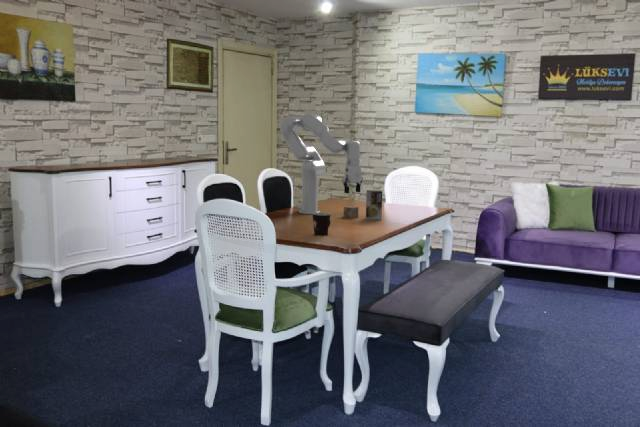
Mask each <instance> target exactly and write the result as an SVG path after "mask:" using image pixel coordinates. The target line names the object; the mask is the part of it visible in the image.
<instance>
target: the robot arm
mask: <svg viewBox="0 0 640 427" xmlns="http://www.w3.org/2000/svg"><path fill="white" fill-rule="evenodd" d="M279 130H280V134H281V136H282V138H283V140H284V141H285V142H286V144H287V145H288V147H289V149H290V151H291V153H292V154H293V156H294V157H295V159H296V160H297V161H299V162H300V161H301V162H303V161H304V162H303V163H302V164H301V166H300V173H301V204H299V205H298V206H297V208H298V209H300V210H298V213H300V214H304V215H313V213H321V210H319V209H318V208H319V207H318V205H319V204H318V201H319V196H318V195H319V179H318V176H320V175H322V174H323V173H324V172H325V169H326V165H325V162H324V160H323V158H322V157H321V156H320V153H318V151H317V149H316V148H315V147H314V146H313V145H311V144H305V142H303V140H302V139H301V137H300V136H299V134H297V132H299V131H300V132H301V131H305V130H308V131H309V132H310V133H312V134H313V135H315V137H317V138H318V140H319V141H320V142H321V144H322V146H323V147H325V148H326V149H327V150H328V151H330V152H331V153H332V154H335V155H337V154H340V155H342V154H345V155H346V156H345V158H346V160H345V164H346V165H345V168H344V176H343V177H342V178H341V182H342V185H343V188H344V189H343V190H344V191H343V192H344V194H350V184H355V193H361V188H362V186H361V185H362V183H363V180H364V177H363V176H362V168H361V165H360V154H361V150H360V149H361V148H360V147H361V146H360V145H361V144H360V142H359V141H356V140H344V139H343V140H341V139H340V140H337V139H336V138H335V137H333V135H331V133H330V132H329V127H328V125H326V124H325V123H324V122H323V121H322V117H321V116H320V115H319V114H317V113H305V114H304V115H301V116H294V115H292V116H291V115H290V116H285V117H284V118H283V119H282V121H281V122H280V127H279ZM296 131H297V132H296Z"/></svg>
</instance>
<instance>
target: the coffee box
mask: <svg viewBox="0 0 640 427" xmlns="http://www.w3.org/2000/svg"><path fill="white" fill-rule="evenodd" d="M365 197H366V198H365V202H366V204H365V220H377V221H378V220H380V221H382V217H383V215H382V214H383V213H382V212H383V211H382V210H383V190H376V189H375V190H373V189H372V190H371V189H370V190H369V189H367V190H366V196H365Z"/></svg>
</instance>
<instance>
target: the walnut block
mask: <svg viewBox="0 0 640 427" xmlns="http://www.w3.org/2000/svg"><path fill="white" fill-rule="evenodd" d="M343 218H348V219H356V218H359V206H353V205H348V206H343Z"/></svg>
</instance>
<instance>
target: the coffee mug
mask: <svg viewBox="0 0 640 427" xmlns="http://www.w3.org/2000/svg"><path fill="white" fill-rule="evenodd" d="M312 222H313V223H312V224H313V225H312V226H313V233H314V234H315V235H314V236H317V235H322V236H321V237H324V236H323V235H326V236H328V234H329V228H330V225H331V213H328V212H320V213H313V214H312Z"/></svg>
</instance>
